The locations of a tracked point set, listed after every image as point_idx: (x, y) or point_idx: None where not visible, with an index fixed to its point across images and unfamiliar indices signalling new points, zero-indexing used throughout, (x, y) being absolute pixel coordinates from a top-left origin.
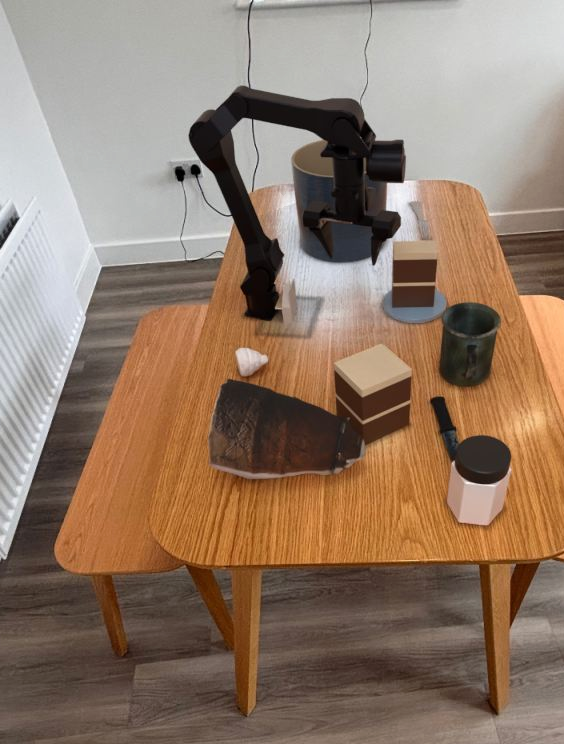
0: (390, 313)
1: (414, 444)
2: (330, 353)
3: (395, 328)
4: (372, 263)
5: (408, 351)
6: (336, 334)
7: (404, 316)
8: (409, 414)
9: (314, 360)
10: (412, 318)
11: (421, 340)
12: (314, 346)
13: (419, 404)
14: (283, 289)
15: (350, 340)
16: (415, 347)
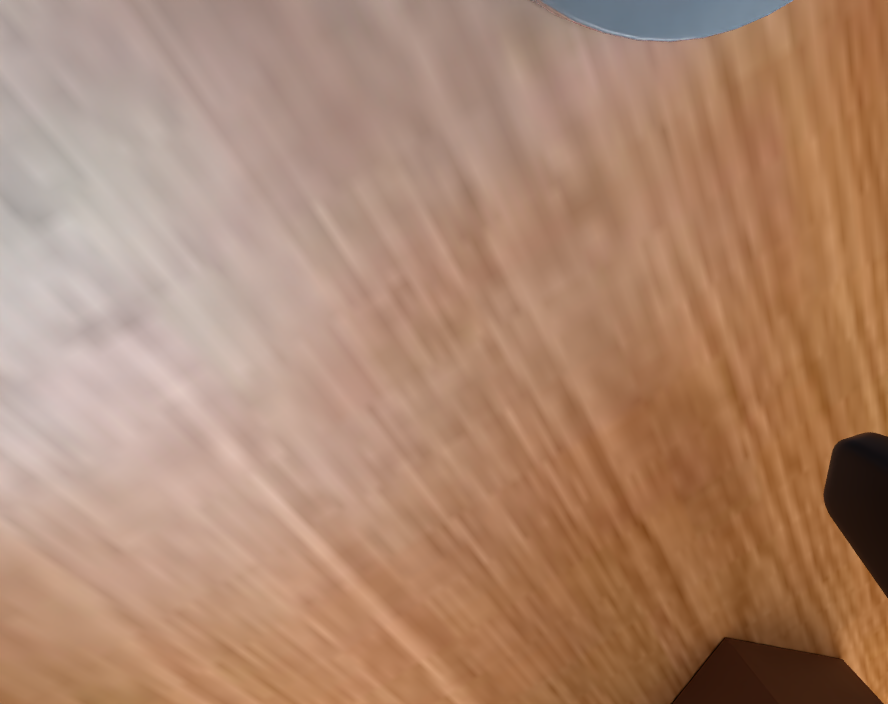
0: (568, 18)
1: None
2: (362, 585)
3: (637, 144)
4: (862, 548)
5: (769, 318)
6: (278, 438)
7: (694, 9)
8: (881, 702)
9: (315, 671)
10: (760, 6)
11: (825, 178)
12: (228, 602)
13: (865, 570)
14: None
15: (406, 432)
16: (800, 263)
